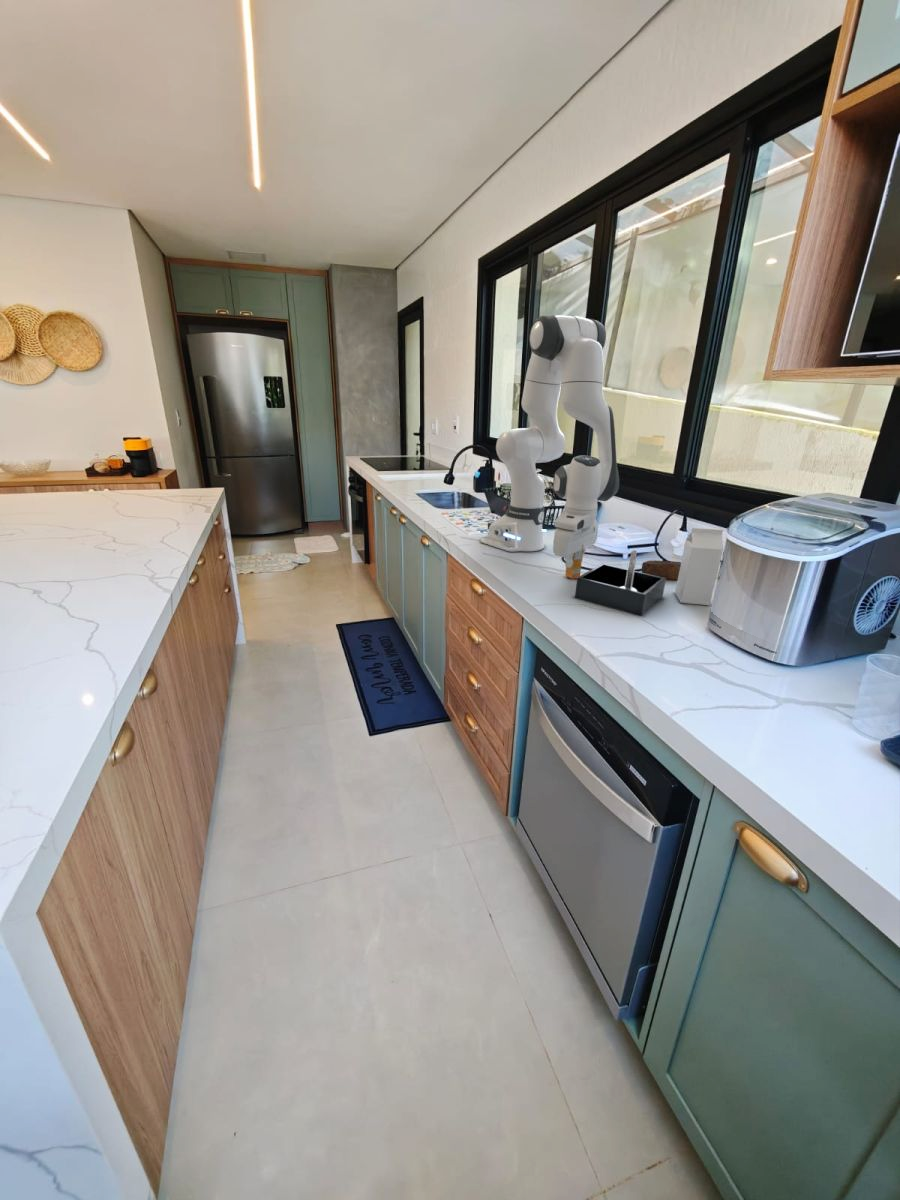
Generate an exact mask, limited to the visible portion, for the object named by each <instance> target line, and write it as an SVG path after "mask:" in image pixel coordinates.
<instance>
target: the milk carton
mask: <svg viewBox="0 0 900 1200" xmlns="http://www.w3.org/2000/svg"><path fill="white" fill-rule="evenodd" d="M723 532H724V531H723V529H715V528H703V527H702V528H700V527H691V531H690V533H689V535H688V536H687V537H686V539H685V543H684V548H683V553H682V557H681V561H680V562H681V566H680V571H679V576H678V580H676V586H675V591H674V593H675V595H676V597H677V599H678V601H679V602H680V603H682V604H690V605H691V604H692V605H704V606H710V605H711V602H712V598H713V593H714V589H715V585H716V581H717V577H718V573H719V572H718V571H719V569H720V566H721V560H722V555H723V552H724V541H723Z"/></svg>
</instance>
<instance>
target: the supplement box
mask: <svg viewBox="0 0 900 1200" xmlns="http://www.w3.org/2000/svg"><path fill="white" fill-rule="evenodd" d="M582 553H583V545H582V549H581V550H580V551H578V552H576V553H574V554H573V557H572V560H573V561H574V564H573V567H571V568H568V567H566V566H565V573H564V576H565V577H567V578H570V579H571V580H572V579H577V578H578V577H579V576H581V572H582V571H581V570H582V562H583V559H582Z"/></svg>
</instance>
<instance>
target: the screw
mask: <svg viewBox="0 0 900 1200" xmlns="http://www.w3.org/2000/svg"><path fill="white" fill-rule="evenodd" d="M637 554H638V553H637V550H636V549H632V550H631V552H630V557H629V560H628V565H627V566H628V567H627V568H626V569H627V570H628V571H627V576H626V577H627V578H626V580H625V581H626V582H625V583H626V584H625V586H621V588H625V589H629V590H633V591H636V592H638V591H637V590H636V589H635V588H633V587H632V585H633V584H632V583H633V582H632V581H633V577H634V572H635V571H636V566H637Z"/></svg>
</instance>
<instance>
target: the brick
mask: <svg viewBox="0 0 900 1200" xmlns="http://www.w3.org/2000/svg"><path fill="white" fill-rule="evenodd" d="M680 566H681V561H675V560H674V561H671V560H646V561H643V562H642V563H641V573H646V574H650V575H654V576H659V577H663V578H666V581H667V580H668V581H678V576H679V571H680Z"/></svg>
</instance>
